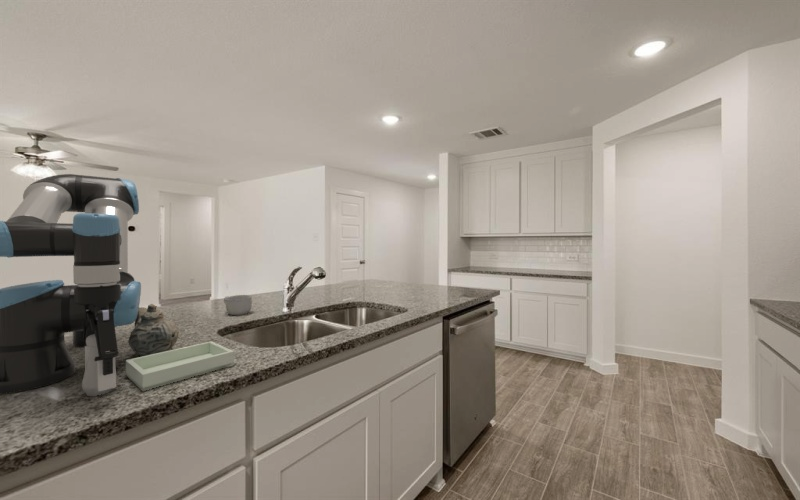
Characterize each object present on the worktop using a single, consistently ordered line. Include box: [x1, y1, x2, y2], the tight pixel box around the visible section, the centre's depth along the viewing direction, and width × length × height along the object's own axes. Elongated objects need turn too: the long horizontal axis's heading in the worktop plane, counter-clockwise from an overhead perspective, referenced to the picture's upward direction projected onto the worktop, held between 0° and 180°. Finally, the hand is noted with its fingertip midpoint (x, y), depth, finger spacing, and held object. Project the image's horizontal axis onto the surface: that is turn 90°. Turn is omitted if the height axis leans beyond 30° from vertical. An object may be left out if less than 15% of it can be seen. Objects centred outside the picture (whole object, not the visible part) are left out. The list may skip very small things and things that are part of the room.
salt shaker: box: [81, 334, 118, 397], centre depth 73 cm, size 6×6×13 cm
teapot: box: [128, 303, 179, 357], centre depth 96 cm, size 21×12×15 cm, turn 59°
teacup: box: [223, 294, 253, 317], centre depth 150 cm, size 14×11×8 cm
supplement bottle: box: [72, 331, 87, 347], centre depth 106 cm, size 7×7×12 cm
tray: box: [125, 340, 235, 392], centre depth 85 cm, size 20×14×4 cm
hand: (99, 380), depth 73 cm, fingers open, 13 cm apart
